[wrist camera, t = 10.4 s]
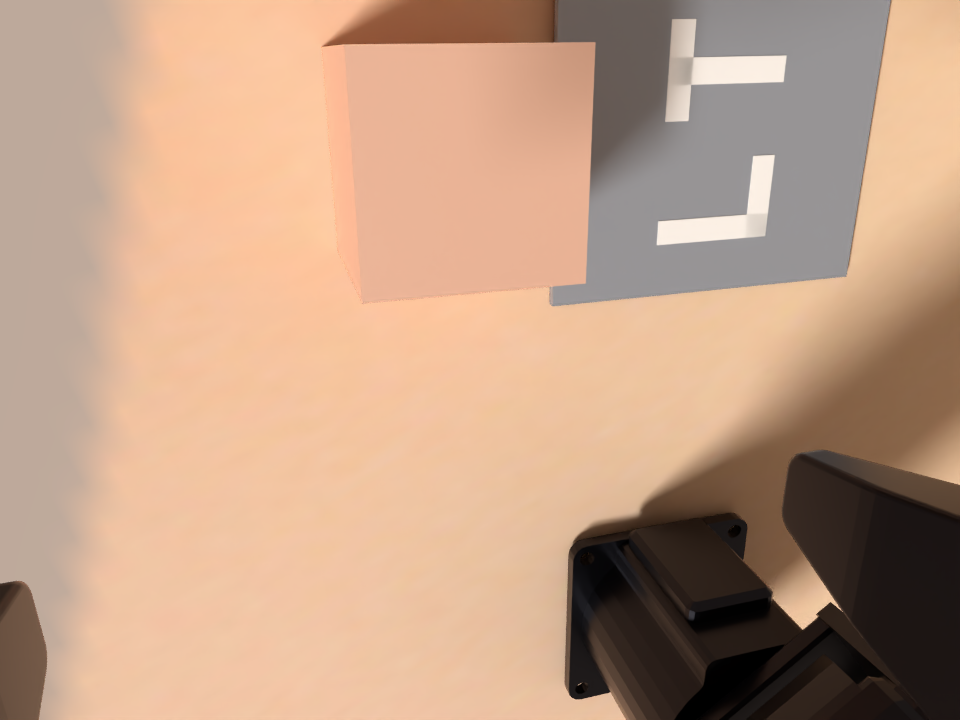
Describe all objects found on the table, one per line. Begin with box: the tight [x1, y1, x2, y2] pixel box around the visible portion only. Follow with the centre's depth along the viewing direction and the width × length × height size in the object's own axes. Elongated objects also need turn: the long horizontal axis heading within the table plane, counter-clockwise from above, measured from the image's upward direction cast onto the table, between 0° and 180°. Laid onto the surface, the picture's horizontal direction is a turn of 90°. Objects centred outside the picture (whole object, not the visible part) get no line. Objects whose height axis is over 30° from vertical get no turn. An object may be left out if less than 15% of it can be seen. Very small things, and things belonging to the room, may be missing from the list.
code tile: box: [550, 0, 891, 306], centre depth 22 cm, size 9×10×1 cm
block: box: [321, 42, 595, 304], centre depth 18 cm, size 5×5×5 cm
